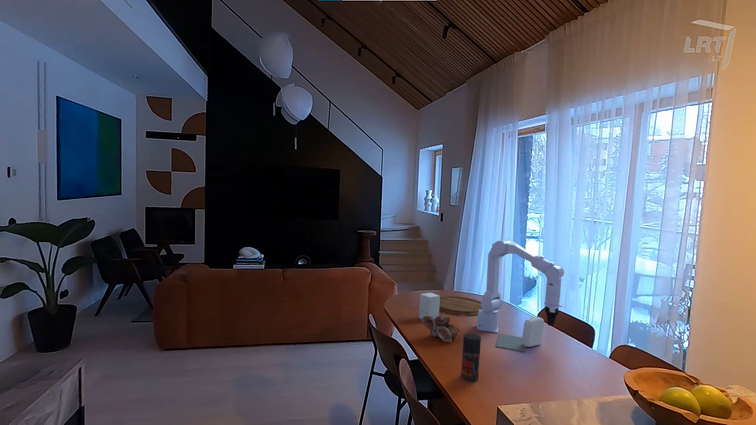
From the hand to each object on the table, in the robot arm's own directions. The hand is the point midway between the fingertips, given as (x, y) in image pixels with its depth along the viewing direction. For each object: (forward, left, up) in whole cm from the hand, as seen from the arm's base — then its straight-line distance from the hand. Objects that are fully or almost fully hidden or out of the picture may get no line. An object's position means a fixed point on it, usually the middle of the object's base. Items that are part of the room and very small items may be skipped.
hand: (550, 324), depth 177 cm
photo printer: (-7, 0, -10) cm, 13 cm away
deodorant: (-27, -45, -11) cm, 54 cm away
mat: (-15, -1, -10) cm, 18 cm away
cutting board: (-46, +42, -11) cm, 63 cm away
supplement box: (-56, +12, -11) cm, 58 cm away
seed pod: (-44, -11, -11) cm, 47 cm away
